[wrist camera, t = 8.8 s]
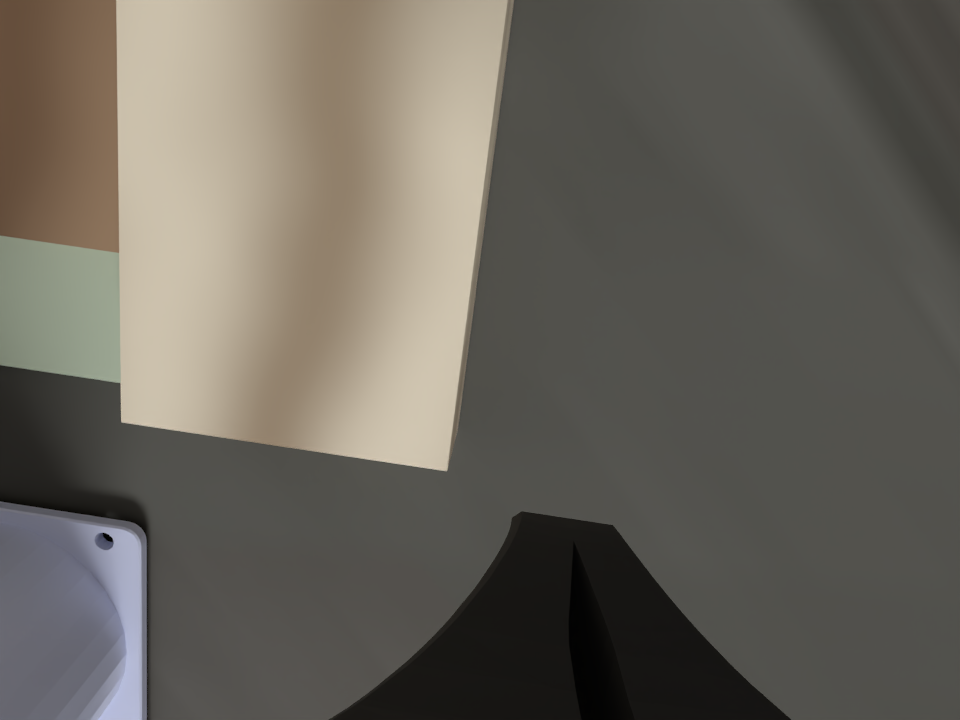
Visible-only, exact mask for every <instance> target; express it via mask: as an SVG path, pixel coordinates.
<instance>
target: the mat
mask: <svg viewBox="0 0 960 720" xmlns="http://www.w3.org/2000/svg"><path fill="white" fill-rule="evenodd" d="M0 365H3V366H10V367H16V368H23V369H30V370H36V371H43V372H50V373H56V374H63V375H70V376H77V377H83V378H90V379H97V380H103V381H110V382H117V383H121V362H120V277H119V253H116V252H109V251H102V250H95V249H88V248H82V247H75V246H68V245H61V244H54V243H47V242H40V241H34V240H27V239H20V238H13V237H6V236H0Z"/></svg>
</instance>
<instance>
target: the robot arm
mask: <svg viewBox="0 0 960 720" xmlns="http://www.w3.org/2000/svg"><path fill="white" fill-rule="evenodd" d="M102 533H106V534H109V535H110V536H111V537H112V538H113V542H110V541H107V540H106V539H105V538H104V537H103V534H102ZM0 720H147V540H146V535H145V533H144V531H143V530H142V528H141V527H139V526H138V525H137V524H135V523H132V522H129V521H123V520H116V519H110V518H103V517H97V516H91V515H84V514H78V513H71V512H65V511H58V510H52V509H45V508H39V507H32V506H26V505H19V504H13V503H6V502H0ZM329 720H791V719H790V718H789V717H787V716H786V715H785V714H784V713H783V712H782V711H781V710H780V709H778V708H777V707H776V706H775V705H774V704H773V703H772V702H770V701H769V700H768V699H767V698H766V697H765V696H764V695H763V694H761V693H760V692H759V691H758V690H757V689H756V688H755V687H753V686H752V685H751V684H750V683H749V682H748V681H747V680H746V679H745V678H744V677H743V676H742V675H741V674H740V673H739V672H738V671H737V670H735V669H734V668H733V667H732V666H731V665H730V664H729V663H728V662H727V660H726V659H725V658H724V657H723V656H722V655H721V654H720V653H719V652H718V651H717V650H716V649H715V648H714V647H713V646H712V645H711V644H710V643H709V642H708V641H707V640H706V639H705V637H704V636H703V635H702V634H701V633H700V632H699V631H698V630H697V629H696V628H695V627H694V626H693V624H692V623H691V622H690V621H689V620H688V619H687V618H686V617H685V615H684V614H683V613H682V612H681V611H680V610H679V608H678V607H677V606H676V605H675V604H674V603H673V601H672V600H671V599H670V598H669V597H668V595H667V594H666V593H665V592H664V591H663V589H662V588H661V587H660V586H659V584H658V583H657V582H656V581H655V579H654V578H653V577H652V576H651V574H650V573H649V572H648V570H647V569H646V568H645V567H644V565H643V564H642V563H641V561H640V560H639V559H638V558H637V556H636V555H635V554H634V552H633V551H632V550H631V548H630V547H629V546H628V544H627V543H626V542H625V540H624V539H623V538H622V536H621V535H620V534H619V532H618V531H617V530H616V529H615V527H614V526H613V525H608V524H601V523H595V522H588V521H581V520H575V519H568V518H562V517H555V516H548V515H542V514H535V513H529V512H520V513H519V514H517V515H516V516H514V517H513V518H512V522H511V527H510V530H509V533H508V535H507V538H506V540H505V542H504V544H503V545H502V547H501V549H500V551H499V553H498V555H497V556H496V558H495V559H494V561H493V562H492V564H491V565H490V567H489V568H488V570H487V571H486V573H485V574H484V576H483V577H482V579H481V580H480V582H479V583H478V585H477V586H476V587H475V589H474V590H473V591H472V592H471V594H470V595H469V596H468V597H467V599H466V600H465V601H464V602H463V603H462V605H461V606H460V607H459V608H458V609H457V611H456V612H455V613H454V614H453V615H452V617H451V618H450V619H449V620H448V621H447V622H446V624H445V625H444V626H443V627H442V628H441V629H440V630H439V631H438V632H437V633H436V634H435V635H434V636H433V637H432V638H431V639H430V640H429V641H428V642H427V643H426V644H425V645H424V646H423V647H422V648H421V649H420V650H419V651H418V652H417V653H416V654H415V655H413V656H412V657H411V658H410V659H409V660H408V661H407V662H406V663H405V664H403V665H402V666H401V667H400V668H399V669H397V670H396V671H395V672H394V673H393V674H391V675H390V676H389V677H388V678H386V679H385V680H384V681H383V682H382V683H380V684H379V685H378V686H377V687H375V688H374V689H373V690H372V691H370V692H369V693H368V694H366V695H365V696H364V697H362V698H361V699H360V700H358V701H357V702H355V703H354V704H353V705H351V706H350V707H348V708H347V709H345V710H344V711H342V712H340V713H339V714H337V715H336V716H334V717H333V718H331V719H329Z"/></svg>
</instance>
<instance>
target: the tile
mask: <svg viewBox="0 0 960 720" xmlns="http://www.w3.org/2000/svg"><path fill="white" fill-rule="evenodd" d="M0 236H6V237H13V238H20V239H27V240H34V241H40V242H47V243H54V244H61V245H68V246H75V247H82V248H88V249H95V250H102V251H109V252H116V253H119V192H118V107H117V23H116V0H0Z"/></svg>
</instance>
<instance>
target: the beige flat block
mask: <svg viewBox="0 0 960 720" xmlns="http://www.w3.org/2000/svg"><path fill="white" fill-rule="evenodd" d="M513 5H514V0H116V23H117V107H118V192H119V277H120V362H121V422H123V423H130V424H136V425H143V426H150V427H156V428H163V429H170V430H176V431H183V432H189V433H196V434H203V435H209V436H216V437H223V438H229V439H236V440H243V441H249V442H256V443H263V444H269V445H276V446H282V447H289V448H296V449H302V450H309V451H316V452H322V453H329V454H336V455H342V456H349V457H356V458H362V459H369V460H375V461H382V462H389V463H395V464H402V465H409V466H415V467H422V468H429V469H435V470H442V471H447V469H448V465H449V461H450V457H451V454H452V450H453V446H454V442H455V438H456V434H457V430H458V424H459V417H460V409H461V401H462V394H463V386H464V378H465V371H466V363H467V356H468V348H469V340H470V333H471V325H472V317H473V310H474V302H475V295H476V287H477V279H478V272H479V264H480V257H481V249H482V241H483V234H484V226H485V218H486V211H487V203H488V196H489V188H490V180H491V173H492V165H493V157H494V150H495V142H496V135H497V127H498V119H499V112H500V104H501V97H502V89H503V81H504V74H505V66H506V58H507V51H508V43H509V36H510V28H511V20H512V13H513Z"/></svg>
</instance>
